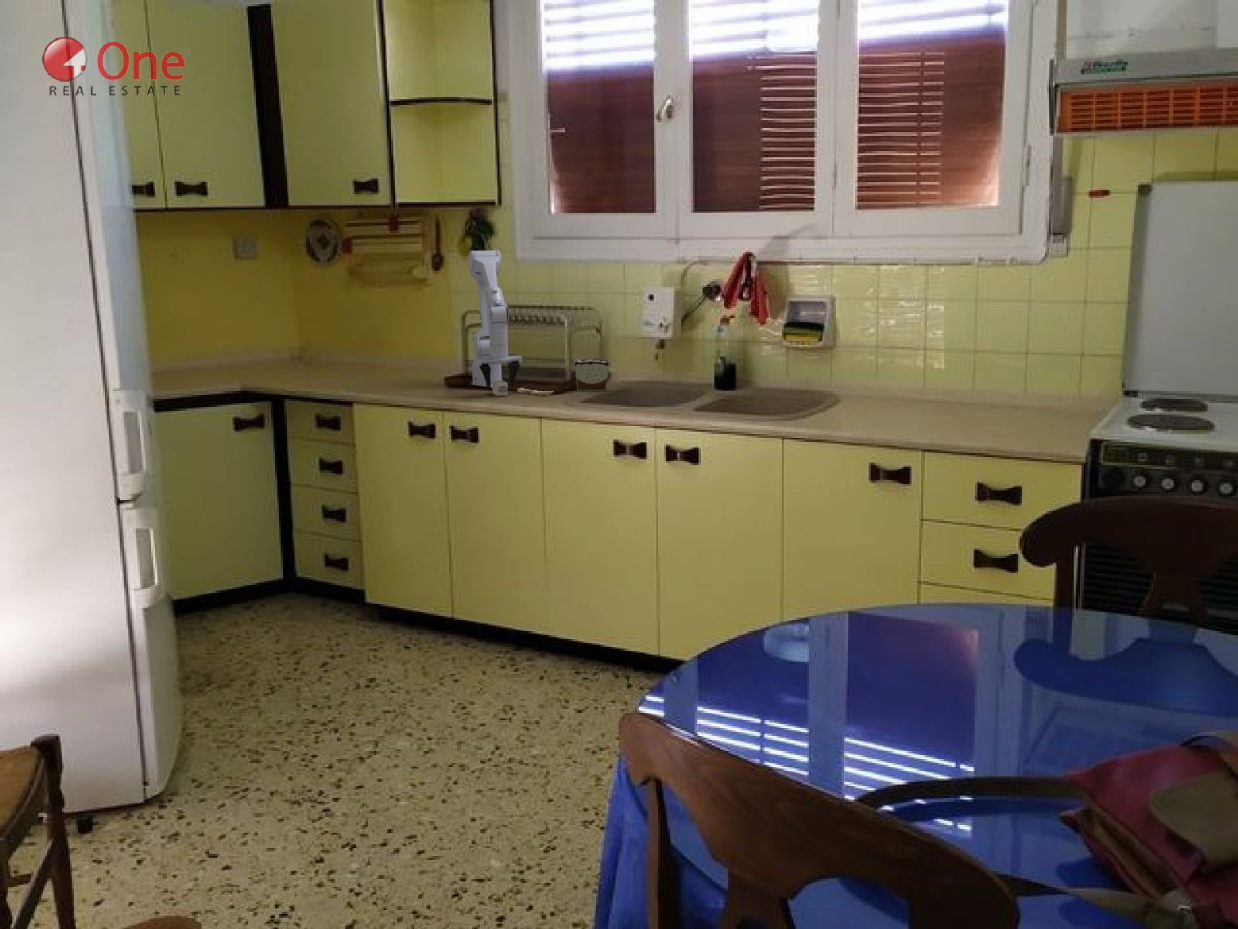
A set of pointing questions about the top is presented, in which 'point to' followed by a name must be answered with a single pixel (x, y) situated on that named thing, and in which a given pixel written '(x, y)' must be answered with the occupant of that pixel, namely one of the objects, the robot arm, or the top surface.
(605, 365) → the food container
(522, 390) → the trivet
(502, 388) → the plug
